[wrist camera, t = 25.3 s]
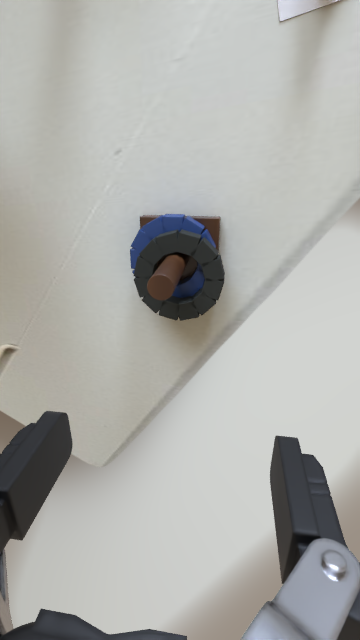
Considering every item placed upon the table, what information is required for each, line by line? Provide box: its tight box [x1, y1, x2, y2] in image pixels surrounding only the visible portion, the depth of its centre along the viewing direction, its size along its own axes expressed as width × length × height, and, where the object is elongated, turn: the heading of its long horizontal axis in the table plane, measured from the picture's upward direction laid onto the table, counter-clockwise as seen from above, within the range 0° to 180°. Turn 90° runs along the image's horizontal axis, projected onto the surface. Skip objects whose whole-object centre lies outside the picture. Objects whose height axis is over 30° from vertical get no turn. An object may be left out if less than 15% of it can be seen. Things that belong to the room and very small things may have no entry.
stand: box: [140, 215, 220, 300], centre depth 35 cm, size 9×9×12 cm
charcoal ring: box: [134, 229, 224, 321], centre depth 37 cm, size 10×10×2 cm
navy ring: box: [130, 214, 216, 298], centre depth 38 cm, size 10×10×2 cm
